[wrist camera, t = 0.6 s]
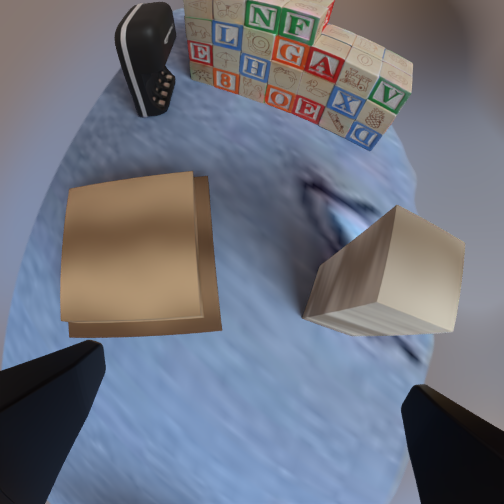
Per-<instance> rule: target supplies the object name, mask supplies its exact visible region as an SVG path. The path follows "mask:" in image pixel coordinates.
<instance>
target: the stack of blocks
mask: <svg viewBox="0 0 504 504" xmlns="http://www.w3.org/2000/svg"><path fill="white" fill-rule="evenodd" d="M183 2H184V11H185V16H184V19H185V28H186V37H187V43H188V52H189V59H190V61H189V64H190V72H191V79H192V80H194V81H198V82H201V83H205V84H208V85H211V86H214V87H216V88H219V89H223V90H226V91H229V92H232V93H235V94H239V95H241V96H244V97H246V98H249V99H252V100H255V101H257V102H260V103H265V104H268V105H270V106H273V107H276V108H278V109H281V110H284V111H286V112H289V113H292V114H294V115H297V116H299V117H301V118H303V119H306V120H308V121H310V122H313V123H315V124H318V125H319V126H320V127H322V128H325V129H327V130H329V131H331V132H333V133H335V134H337V135H339V136H341V137H343V138H346V139H347V140H349V141H351V142H353V143H355V144H357V145H359V146H361V147H363V148H365V149H367V150H369V151H371V150H372V149H373V148H374V146H375V145H376V144H377V142H378V141H379V140H380V138H381V137H382V136H383V134H384V133H385V132H386V130H387V129H388V128H389V126H390V125H391V124H392V122H393V121H394V119H395V118H396V116H397V114H398V113H399V111H400V110H401V108H402V107H403V105H404V104H405V102H406V101H407V99H408V98H409V96H410V95H411V90H412V71H413V63H411V62H410V61H408V60H406V59H404V58H402V57H401V56H398V55H397V54H395V53H393V52H391V51H389V50H386V49H385V48H384V47H382V46H380V45H378V44H376V43H374V42H372V41H370V40H368V39H366V38H363V37H361V36H359V35H356V34H354V33H352V32H350V31H347V30H345V29H342V28H340V27H337V26H334V25H330V24H327V23H328V22H329V19H330V14H331V12H332V8H333V5H334V2H335V0H183Z"/></svg>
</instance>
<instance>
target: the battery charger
mask: <svg viewBox="0 0 504 504" xmlns="http://www.w3.org/2000/svg"><path fill="white" fill-rule="evenodd" d="M175 39H176V30H175V24H174V18H173V13H172V10H171V7H170V6H169V5H168V4H167V3H165V2H154V3H147V4H145V3H141V4H138V5H135V6H133V7H132V8H131V9H130V10H129V11H128V12H127V14H126V15H125V16H124V18H123V19H122V21H121V22H120V23H119V25H118V27H117V29H116V32H115V46H116V49H117V53H118V57H119V60H120V63H121V67H122V70H123V73H124V76H125V79H126V82H127V84H128V87H129V90H130V92H131V95H132V98H133V101H134V104H135V107H136V110H137V113H138V115H139V116H140V117H148V116H156V115H160V114H163V113H165V112H166V111H167V109H168V107H169V104H170V100H171V97H172V93H173V89H174V86H175V76H174V75H172V73H171V72H170V71H169V70H168V69H167V68H166V66H165V64H166V62H167V59H168V57H169V54H170V51H171V49H172V46H173V44H174V41H175Z"/></svg>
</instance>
